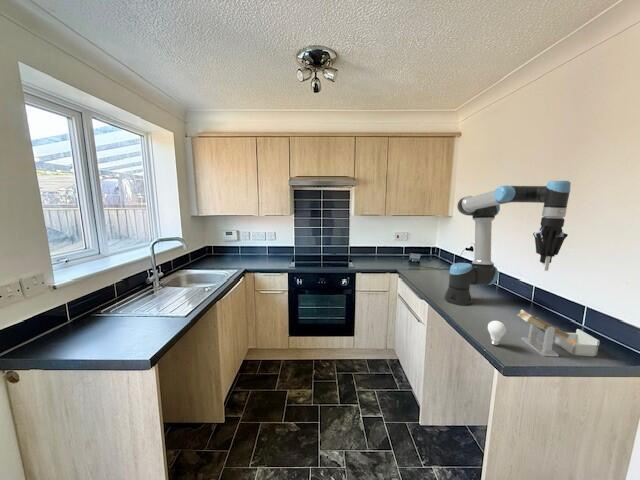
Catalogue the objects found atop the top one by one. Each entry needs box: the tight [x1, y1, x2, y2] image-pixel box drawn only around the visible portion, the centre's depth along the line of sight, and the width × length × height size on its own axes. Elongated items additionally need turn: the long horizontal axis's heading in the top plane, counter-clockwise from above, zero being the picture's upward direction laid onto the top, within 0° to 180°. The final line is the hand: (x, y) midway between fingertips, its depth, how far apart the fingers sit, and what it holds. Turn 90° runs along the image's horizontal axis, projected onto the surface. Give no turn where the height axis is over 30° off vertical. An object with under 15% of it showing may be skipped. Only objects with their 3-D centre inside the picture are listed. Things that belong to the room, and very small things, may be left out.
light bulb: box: [487, 320, 507, 346], centre depth 114 cm, size 7×7×11 cm
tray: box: [553, 328, 600, 357], centre depth 112 cm, size 10×9×7 cm
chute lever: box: [517, 309, 569, 340], centre depth 115 cm, size 14×18×4 cm
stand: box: [520, 316, 559, 358], centre depth 112 cm, size 13×6×12 cm, turn 175°
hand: (543, 269), depth 117 cm, fingers closed
